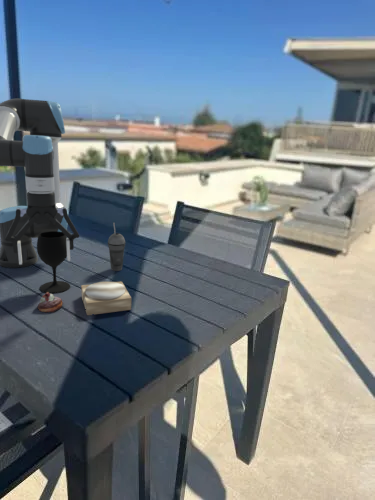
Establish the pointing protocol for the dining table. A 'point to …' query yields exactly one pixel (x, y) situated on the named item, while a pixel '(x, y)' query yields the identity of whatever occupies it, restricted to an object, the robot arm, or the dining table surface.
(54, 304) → the pastry
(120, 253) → the beverage cup
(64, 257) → the wine glass
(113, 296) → the plinth
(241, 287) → the dining table surface
